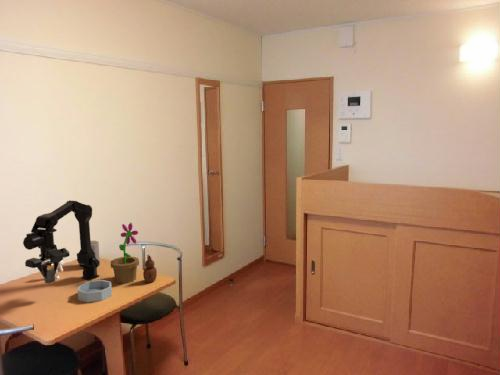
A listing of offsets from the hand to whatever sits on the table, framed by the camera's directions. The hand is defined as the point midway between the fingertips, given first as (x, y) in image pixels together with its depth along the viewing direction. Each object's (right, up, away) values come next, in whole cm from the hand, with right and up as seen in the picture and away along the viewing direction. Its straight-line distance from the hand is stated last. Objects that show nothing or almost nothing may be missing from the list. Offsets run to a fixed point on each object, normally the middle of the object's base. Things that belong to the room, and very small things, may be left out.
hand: (49, 276), depth 182 cm
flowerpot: (+27, -8, +25) cm, 38 cm away
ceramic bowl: (+19, -10, +6) cm, 22 cm away
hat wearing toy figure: (-11, -7, +27) cm, 30 cm away
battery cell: (0, -3, 0) cm, 3 cm away
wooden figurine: (+41, -8, +23) cm, 47 cm away
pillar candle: (+1, -5, +46) cm, 46 cm away
